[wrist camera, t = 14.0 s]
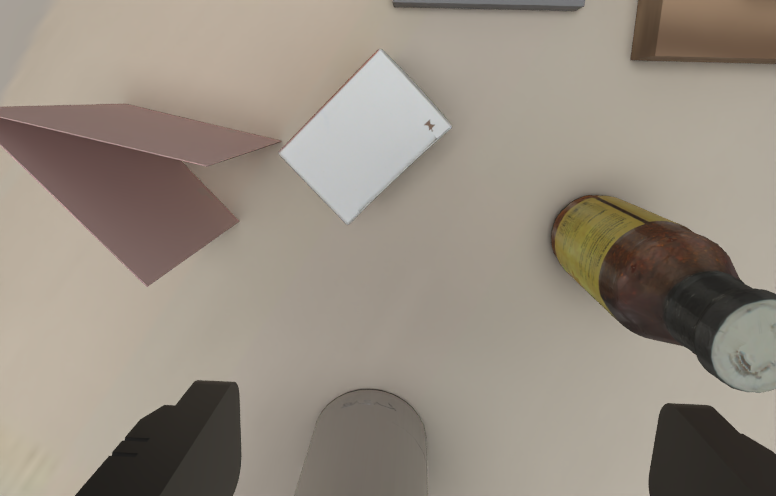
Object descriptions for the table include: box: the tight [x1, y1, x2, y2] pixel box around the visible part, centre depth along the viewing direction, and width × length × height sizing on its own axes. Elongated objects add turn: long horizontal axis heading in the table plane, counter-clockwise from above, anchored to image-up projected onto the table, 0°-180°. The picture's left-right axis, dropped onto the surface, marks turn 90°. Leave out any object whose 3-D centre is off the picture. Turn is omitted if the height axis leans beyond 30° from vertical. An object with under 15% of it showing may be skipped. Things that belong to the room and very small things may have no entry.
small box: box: [278, 49, 452, 224], centre depth 35 cm, size 8×6×10 cm
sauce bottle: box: [551, 195, 776, 393], centre depth 31 cm, size 6×6×20 cm
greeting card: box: [0, 104, 281, 287], centre depth 33 cm, size 11×7×15 cm, turn 42°
